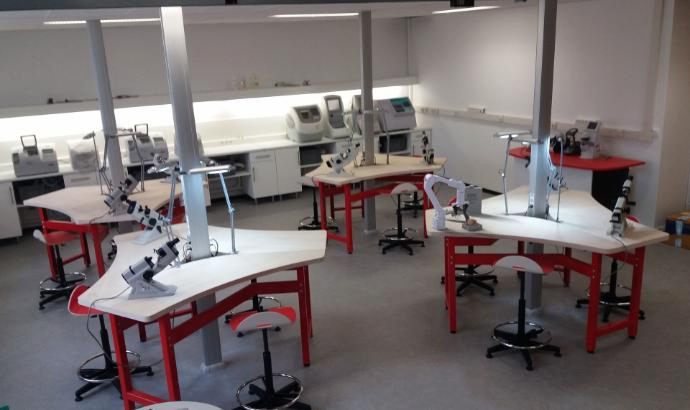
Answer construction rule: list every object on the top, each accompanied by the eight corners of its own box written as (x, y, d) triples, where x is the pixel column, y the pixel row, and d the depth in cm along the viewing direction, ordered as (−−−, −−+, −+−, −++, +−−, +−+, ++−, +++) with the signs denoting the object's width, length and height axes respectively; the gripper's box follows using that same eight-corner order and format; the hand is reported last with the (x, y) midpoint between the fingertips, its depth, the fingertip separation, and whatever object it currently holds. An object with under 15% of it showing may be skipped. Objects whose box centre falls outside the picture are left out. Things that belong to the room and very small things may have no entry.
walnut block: (470, 228, 440) (471, 221, 438) (467, 226, 444) (467, 219, 443) (476, 227, 441) (476, 220, 440) (472, 226, 446) (472, 218, 445)
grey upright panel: (461, 214, 482) (462, 185, 476) (460, 213, 487) (461, 184, 481) (482, 214, 482) (483, 185, 476) (480, 212, 487) (481, 184, 481)
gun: (469, 221, 459) (463, 204, 458) (439, 230, 472) (433, 213, 471) (471, 219, 463) (465, 202, 462) (441, 228, 477) (435, 212, 476)
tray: (469, 231, 436) (469, 226, 435) (461, 227, 445) (461, 223, 444) (482, 229, 440) (482, 224, 439) (474, 225, 449) (475, 221, 449)
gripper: (455, 199, 436) (454, 216, 439) (471, 197, 441) (470, 214, 444) (450, 197, 442) (450, 214, 445) (466, 195, 447) (465, 212, 451)
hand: (460, 214), depth 445 cm, fingers open, 7 cm apart
